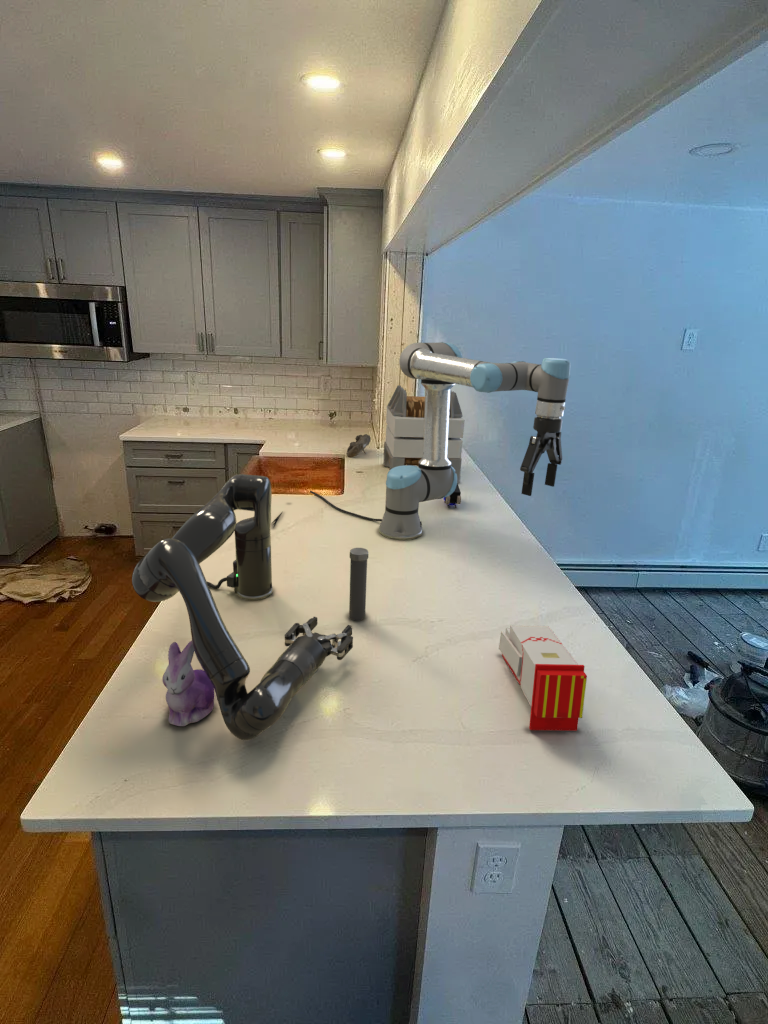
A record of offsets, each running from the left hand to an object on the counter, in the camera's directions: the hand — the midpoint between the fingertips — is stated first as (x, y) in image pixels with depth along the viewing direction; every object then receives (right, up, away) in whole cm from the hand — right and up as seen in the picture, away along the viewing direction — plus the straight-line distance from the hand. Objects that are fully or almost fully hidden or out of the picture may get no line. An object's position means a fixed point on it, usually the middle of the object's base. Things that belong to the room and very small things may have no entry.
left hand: (332, 624), depth 130 cm
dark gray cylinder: (+5, -1, +16) cm, 16 cm away
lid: (+6, +16, +10) cm, 19 cm away
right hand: (+56, +32, +34) cm, 73 cm away
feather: (-27, +24, +82) cm, 90 cm away
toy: (+44, -12, -9) cm, 46 cm away
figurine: (-25, -13, -21) cm, 35 cm away
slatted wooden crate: (+29, +45, +145) cm, 155 cm away
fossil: (-2, +57, +177) cm, 186 cm away
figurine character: (+39, +29, +103) cm, 114 cm away
